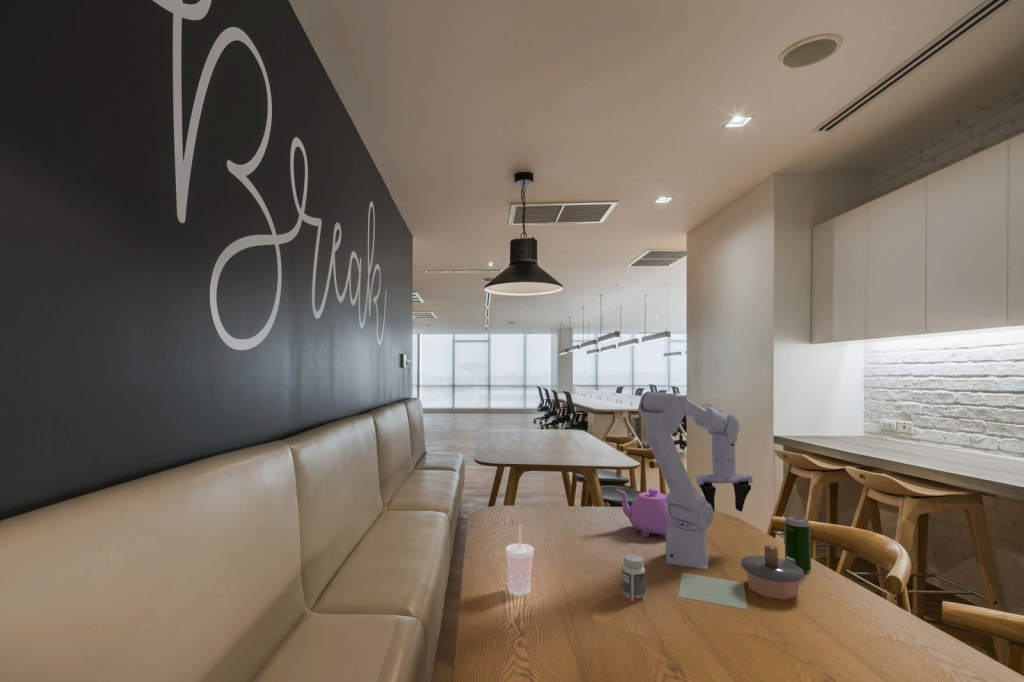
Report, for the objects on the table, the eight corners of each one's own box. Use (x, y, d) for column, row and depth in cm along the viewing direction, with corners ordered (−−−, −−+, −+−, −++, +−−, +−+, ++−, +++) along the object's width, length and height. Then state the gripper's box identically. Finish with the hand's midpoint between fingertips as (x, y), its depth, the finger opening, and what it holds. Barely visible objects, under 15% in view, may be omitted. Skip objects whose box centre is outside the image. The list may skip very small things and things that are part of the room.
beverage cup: (512, 582, 106) (513, 518, 107) (538, 588, 103) (538, 522, 104) (500, 594, 101) (500, 526, 102) (526, 600, 98) (527, 531, 99)
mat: (678, 598, 99) (678, 596, 99) (682, 574, 111) (682, 572, 111) (747, 612, 94) (747, 609, 94) (743, 585, 106) (743, 582, 106)
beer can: (804, 576, 111) (803, 524, 112) (780, 568, 115) (779, 518, 116) (815, 571, 114) (814, 520, 115) (792, 563, 118) (790, 514, 119)
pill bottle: (646, 595, 101) (646, 554, 101) (644, 605, 96) (644, 563, 97) (623, 591, 102) (623, 551, 103) (621, 601, 98) (620, 560, 99)
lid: (740, 574, 101) (740, 551, 101) (741, 555, 112) (741, 534, 112) (806, 586, 96) (805, 562, 96) (801, 565, 106) (800, 543, 107)
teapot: (618, 538, 135) (618, 493, 136) (613, 522, 149) (613, 482, 150) (691, 542, 132) (691, 496, 133) (679, 525, 146) (679, 484, 147)
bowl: (749, 595, 101) (749, 574, 101) (746, 578, 110) (746, 558, 110) (800, 604, 97) (799, 582, 98) (793, 585, 106) (792, 565, 106)
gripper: (704, 462, 124) (705, 515, 123) (758, 461, 124) (760, 514, 124) (692, 457, 131) (693, 507, 130) (743, 456, 131) (745, 506, 131)
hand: (725, 510), depth 127 cm, fingers open, 7 cm apart
